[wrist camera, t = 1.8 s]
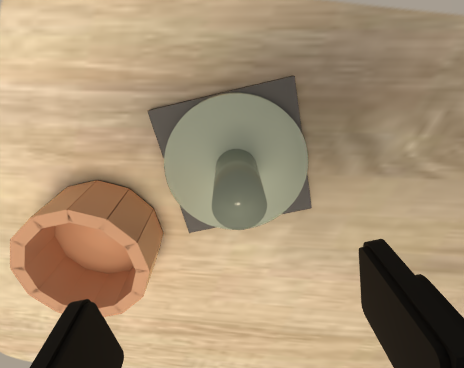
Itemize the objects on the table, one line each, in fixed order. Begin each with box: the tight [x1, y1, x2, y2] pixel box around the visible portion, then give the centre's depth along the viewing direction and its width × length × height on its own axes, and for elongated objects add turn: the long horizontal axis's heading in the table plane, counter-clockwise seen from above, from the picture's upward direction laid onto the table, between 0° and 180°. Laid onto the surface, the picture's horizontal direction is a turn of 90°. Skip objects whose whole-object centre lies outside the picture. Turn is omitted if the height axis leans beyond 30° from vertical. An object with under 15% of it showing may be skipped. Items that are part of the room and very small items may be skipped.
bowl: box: [10, 180, 163, 317], centre depth 24 cm, size 10×10×5 cm
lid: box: [164, 92, 308, 230], centre depth 20 cm, size 11×11×7 cm
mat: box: [148, 76, 312, 233], centre depth 23 cm, size 11×11×1 cm
